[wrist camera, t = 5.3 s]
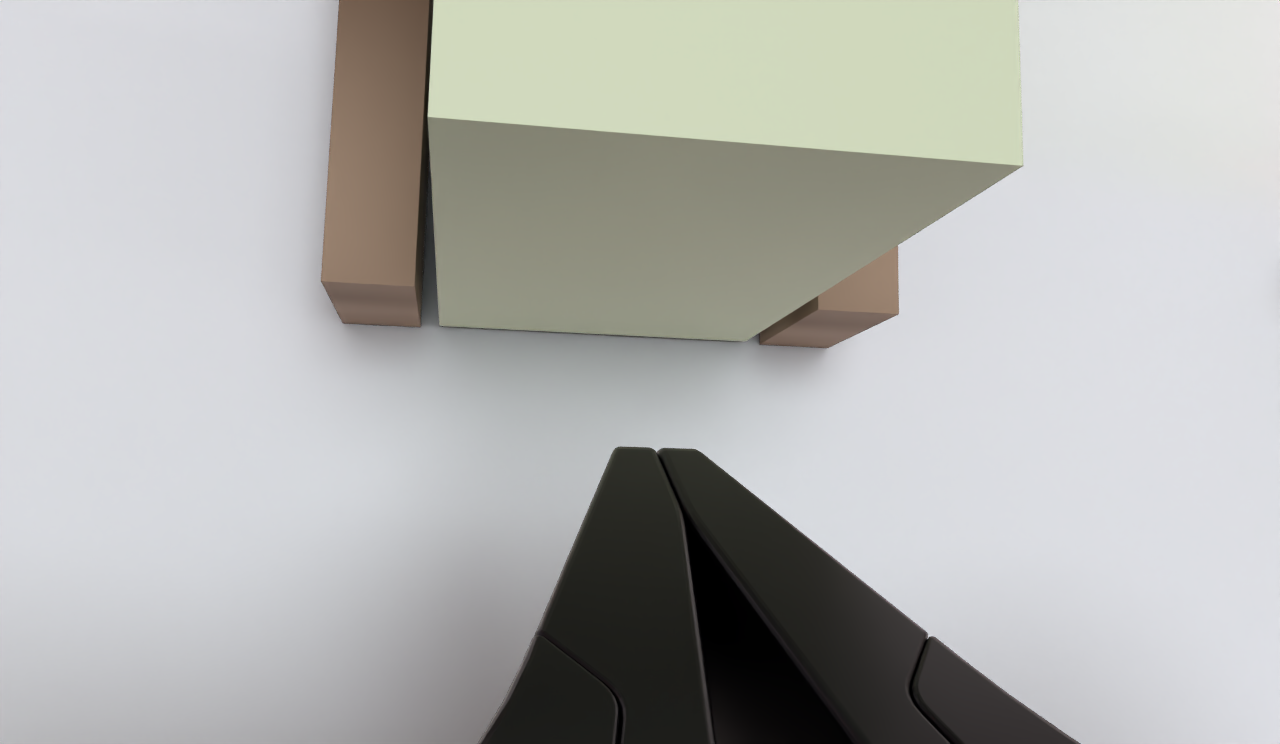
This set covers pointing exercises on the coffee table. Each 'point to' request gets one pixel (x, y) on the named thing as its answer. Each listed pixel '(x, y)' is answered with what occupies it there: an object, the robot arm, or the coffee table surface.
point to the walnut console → (398, 181)
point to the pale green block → (701, 152)
